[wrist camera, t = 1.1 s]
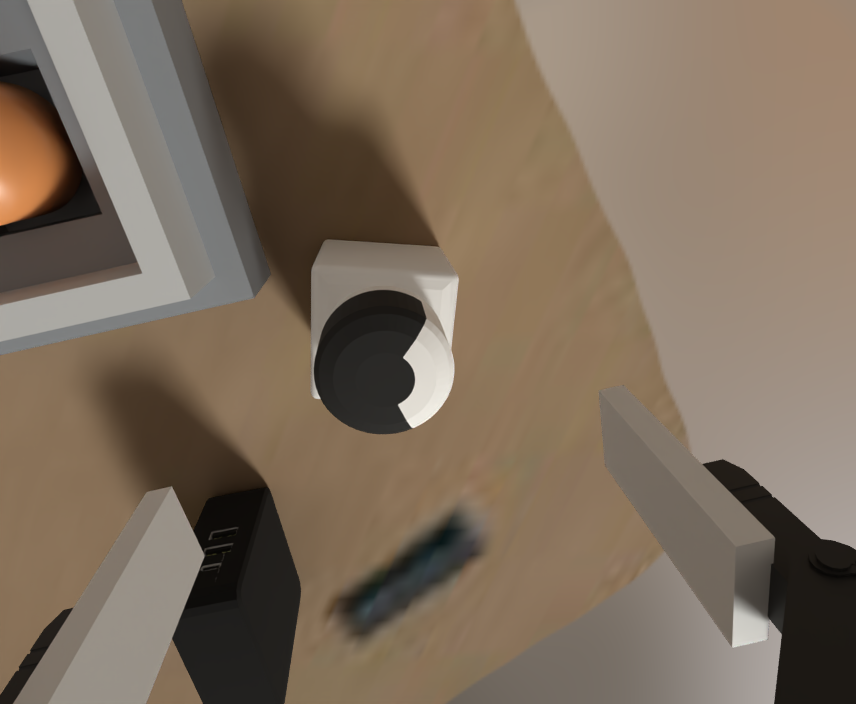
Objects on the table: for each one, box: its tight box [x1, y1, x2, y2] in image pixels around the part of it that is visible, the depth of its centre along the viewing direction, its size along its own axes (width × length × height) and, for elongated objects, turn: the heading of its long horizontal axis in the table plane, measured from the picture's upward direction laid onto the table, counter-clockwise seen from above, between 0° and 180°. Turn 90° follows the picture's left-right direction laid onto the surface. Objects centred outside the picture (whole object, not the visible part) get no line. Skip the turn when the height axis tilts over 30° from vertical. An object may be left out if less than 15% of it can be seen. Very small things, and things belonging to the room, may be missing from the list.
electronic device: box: [172, 487, 301, 704], centre depth 35 cm, size 4×10×10 cm, turn 8°
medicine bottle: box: [311, 239, 459, 434], centre depth 28 cm, size 7×7×12 cm
